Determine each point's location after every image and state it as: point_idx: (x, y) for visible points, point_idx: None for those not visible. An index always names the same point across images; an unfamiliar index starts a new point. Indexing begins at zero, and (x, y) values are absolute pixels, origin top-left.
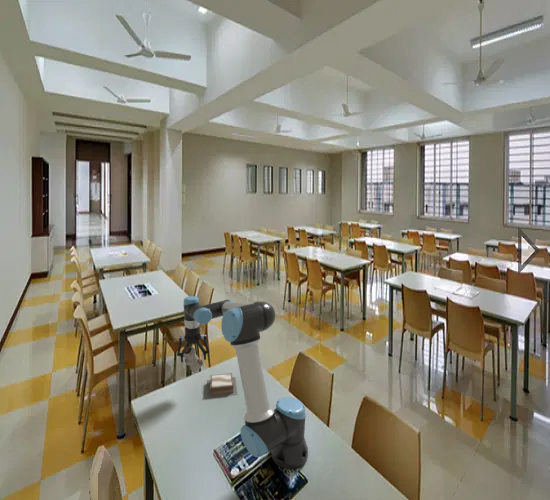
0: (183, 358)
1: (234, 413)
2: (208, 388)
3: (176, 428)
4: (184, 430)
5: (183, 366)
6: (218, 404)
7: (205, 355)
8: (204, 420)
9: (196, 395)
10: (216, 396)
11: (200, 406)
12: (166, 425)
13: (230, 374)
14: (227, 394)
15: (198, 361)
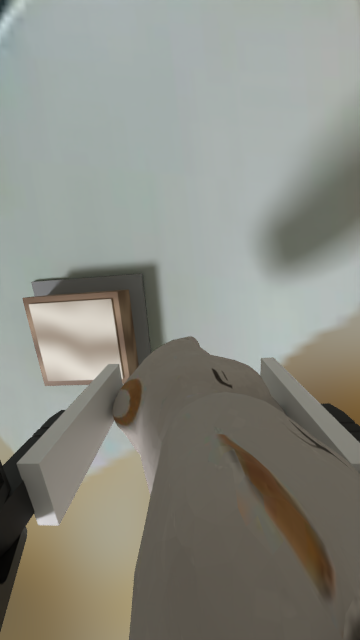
0: (346, 438)
1: (27, 174)
2: (141, 330)
3: (239, 93)
4: (205, 77)
5: (281, 368)
6: (94, 235)
7: (15, 461)
8: (133, 138)
9: (182, 298)
10: (105, 280)
11: (159, 230)
12: (282, 117)
13: (47, 376)
14: (67, 287)
15: (134, 393)
